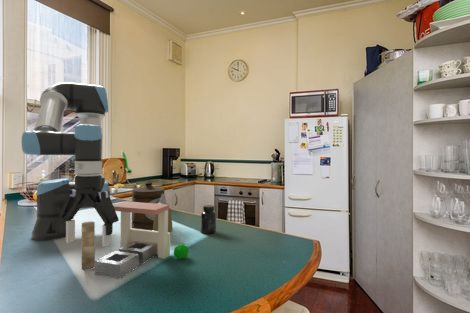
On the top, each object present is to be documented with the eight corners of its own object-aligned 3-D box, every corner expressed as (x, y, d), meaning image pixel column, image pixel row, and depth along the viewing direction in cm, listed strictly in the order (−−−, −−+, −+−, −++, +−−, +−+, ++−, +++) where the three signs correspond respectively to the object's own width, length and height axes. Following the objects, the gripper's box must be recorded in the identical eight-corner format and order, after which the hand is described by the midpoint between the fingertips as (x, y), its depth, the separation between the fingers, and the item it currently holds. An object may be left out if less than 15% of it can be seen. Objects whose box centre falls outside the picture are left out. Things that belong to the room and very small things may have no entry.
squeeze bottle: (167, 240, 118) (168, 196, 117) (149, 238, 120) (149, 195, 119) (175, 234, 126) (176, 193, 125) (158, 233, 128) (158, 192, 127)
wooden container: (151, 233, 128) (152, 183, 127) (124, 229, 133) (124, 181, 132) (170, 225, 142) (170, 180, 141) (145, 221, 147) (145, 178, 146)
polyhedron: (182, 254, 103) (182, 241, 103) (191, 258, 100) (191, 244, 100) (170, 258, 99) (170, 244, 99) (180, 262, 96) (180, 248, 96)
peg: (78, 268, 89) (78, 223, 89) (87, 264, 93) (87, 221, 92) (88, 270, 89) (88, 224, 88) (97, 265, 92) (97, 222, 92)
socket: (94, 274, 86) (94, 261, 86) (114, 262, 95) (114, 250, 94) (120, 278, 83) (120, 265, 83) (138, 266, 92) (139, 254, 92)
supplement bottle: (198, 231, 132) (199, 205, 131) (213, 229, 134) (213, 204, 134) (203, 235, 125) (203, 208, 125) (218, 234, 128) (218, 207, 128)
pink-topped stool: (107, 259, 98) (107, 205, 97) (126, 249, 107) (126, 200, 107) (154, 265, 93) (155, 210, 92) (170, 255, 102) (170, 204, 102)
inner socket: (118, 260, 96) (118, 248, 96) (135, 251, 105) (135, 240, 105) (142, 264, 94) (142, 251, 94) (157, 254, 103) (157, 243, 103)
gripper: (45, 174, 90) (45, 242, 90) (114, 177, 83) (114, 251, 83) (66, 172, 97) (66, 236, 97) (130, 175, 90) (130, 243, 90)
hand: (88, 243), depth 90 cm, fingers open, 13 cm apart
